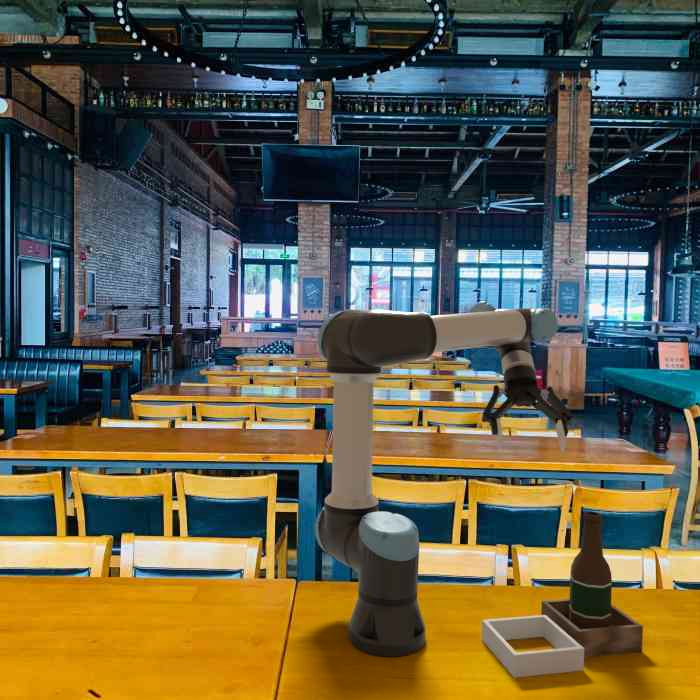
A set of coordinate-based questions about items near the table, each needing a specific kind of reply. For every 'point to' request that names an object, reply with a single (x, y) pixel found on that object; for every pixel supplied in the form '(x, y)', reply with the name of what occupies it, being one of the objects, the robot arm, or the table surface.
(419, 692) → the table surface
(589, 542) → the beer bottle
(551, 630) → the white corral
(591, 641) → the wooden bin
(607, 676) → the table surface
